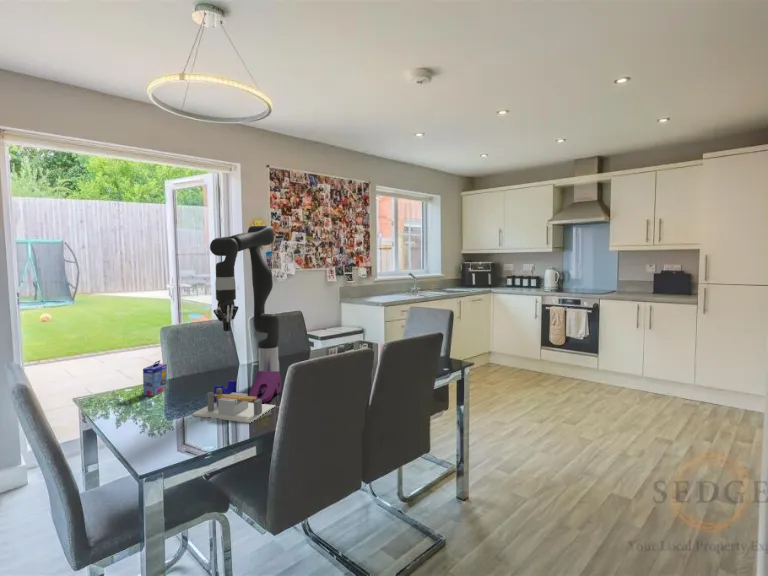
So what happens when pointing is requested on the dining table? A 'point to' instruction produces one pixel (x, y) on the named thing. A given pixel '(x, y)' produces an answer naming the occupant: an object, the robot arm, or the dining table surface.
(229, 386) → the cable clip
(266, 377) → the mounting bracket
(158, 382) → the ink cartridge box
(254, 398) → the wooden strip
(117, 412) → the dining table surface
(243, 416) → the board
